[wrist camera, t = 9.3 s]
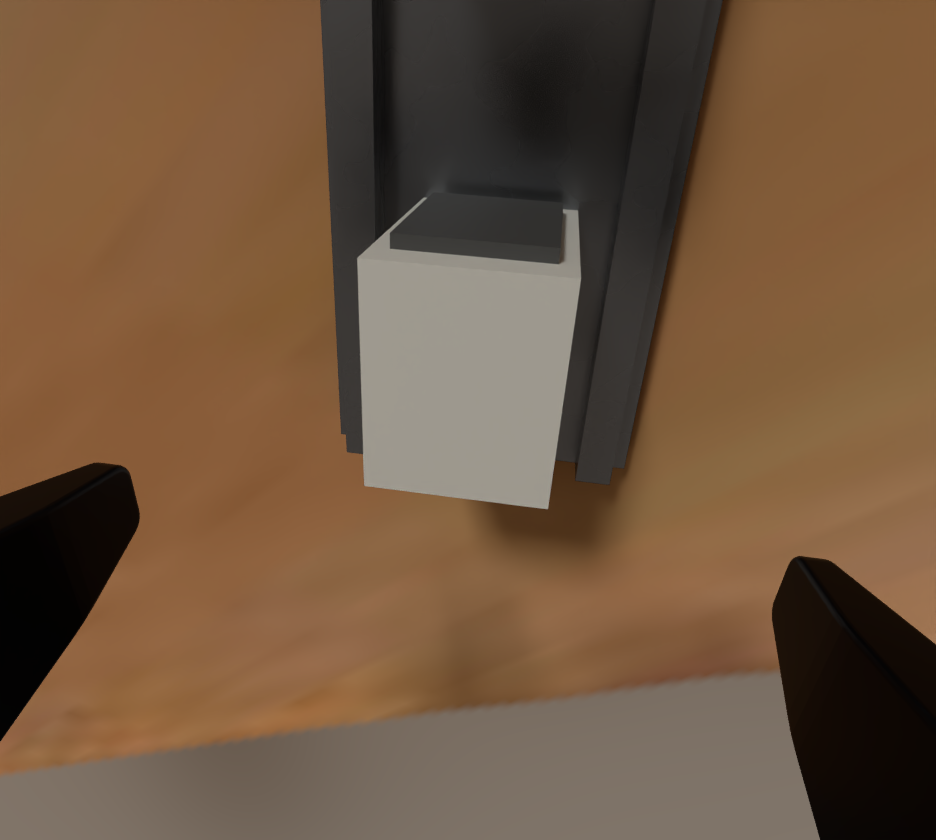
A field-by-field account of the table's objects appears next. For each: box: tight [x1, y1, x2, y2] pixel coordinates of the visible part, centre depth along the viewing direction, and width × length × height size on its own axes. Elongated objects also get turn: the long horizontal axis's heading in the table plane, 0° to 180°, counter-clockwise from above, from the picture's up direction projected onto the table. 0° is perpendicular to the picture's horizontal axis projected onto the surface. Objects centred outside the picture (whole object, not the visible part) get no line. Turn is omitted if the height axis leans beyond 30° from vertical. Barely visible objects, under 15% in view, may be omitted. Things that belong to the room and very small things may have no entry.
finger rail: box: [320, 0, 723, 485], centre depth 15 cm, size 9×22×2 cm, turn 177°
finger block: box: [357, 192, 581, 509], centre depth 15 cm, size 5×4×6 cm
